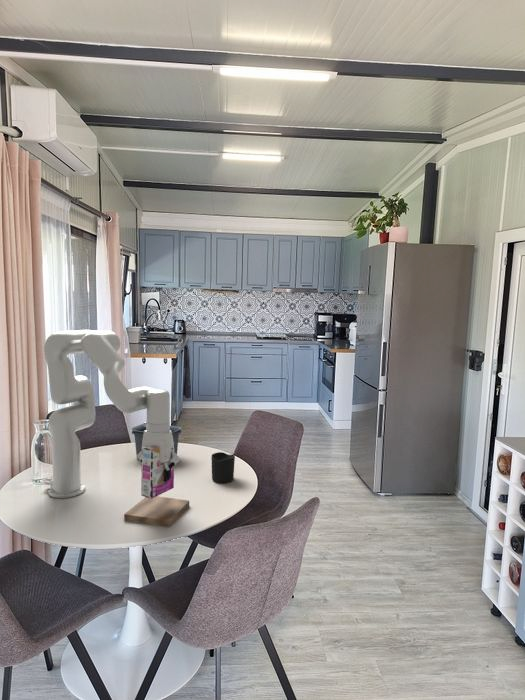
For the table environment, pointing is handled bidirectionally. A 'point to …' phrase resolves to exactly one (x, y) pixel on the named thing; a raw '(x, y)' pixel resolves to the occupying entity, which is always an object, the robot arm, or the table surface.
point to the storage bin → (140, 429)
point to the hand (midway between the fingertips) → (158, 478)
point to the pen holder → (222, 467)
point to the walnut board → (157, 511)
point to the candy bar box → (154, 474)
